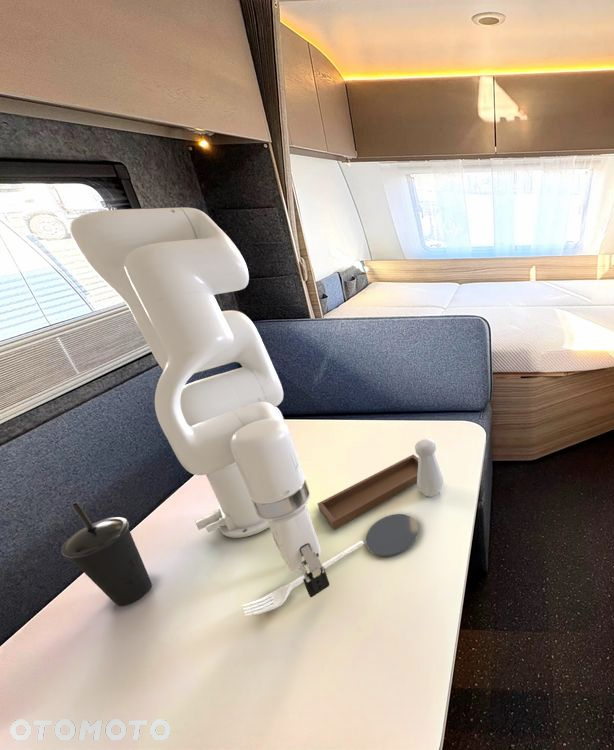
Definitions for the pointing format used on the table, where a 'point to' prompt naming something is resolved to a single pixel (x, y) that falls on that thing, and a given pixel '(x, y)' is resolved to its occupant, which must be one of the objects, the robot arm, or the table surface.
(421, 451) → the salt shaker
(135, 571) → the drinking cup
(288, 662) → the table surface
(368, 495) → the cutlery tray
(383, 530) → the coaster
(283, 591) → the fork
